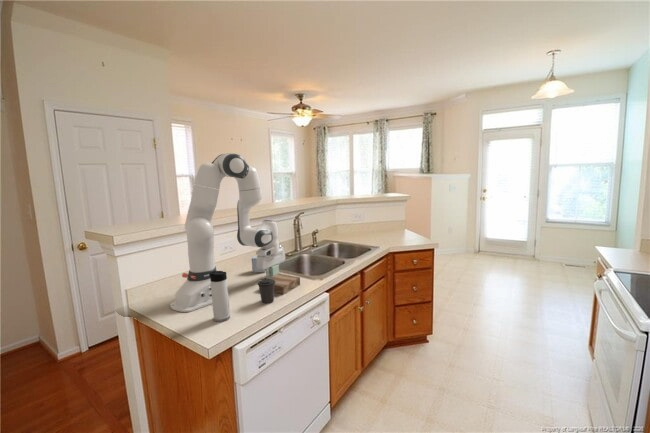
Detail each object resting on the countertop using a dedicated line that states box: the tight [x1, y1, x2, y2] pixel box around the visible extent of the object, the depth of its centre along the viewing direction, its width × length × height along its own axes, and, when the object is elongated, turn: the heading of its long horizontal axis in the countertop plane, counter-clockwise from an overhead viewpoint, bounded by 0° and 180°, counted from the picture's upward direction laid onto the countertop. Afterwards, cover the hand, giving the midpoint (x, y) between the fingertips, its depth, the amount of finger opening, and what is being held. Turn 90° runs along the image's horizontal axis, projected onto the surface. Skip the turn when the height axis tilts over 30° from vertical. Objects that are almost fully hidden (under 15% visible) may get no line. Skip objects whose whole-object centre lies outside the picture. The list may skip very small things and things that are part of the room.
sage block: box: [265, 264, 280, 279], centre depth 166 cm, size 5×5×7 cm
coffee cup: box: [257, 278, 276, 305], centre depth 135 cm, size 8×8×10 cm
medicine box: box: [251, 256, 266, 273], centre depth 177 cm, size 8×4×9 cm, turn 84°
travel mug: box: [209, 270, 231, 323], centre depth 120 cm, size 6×7×20 cm
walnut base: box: [268, 272, 301, 296], centre depth 152 cm, size 14×14×4 cm
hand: (272, 273), depth 166 cm, fingers closed on sage block, 5 cm apart
